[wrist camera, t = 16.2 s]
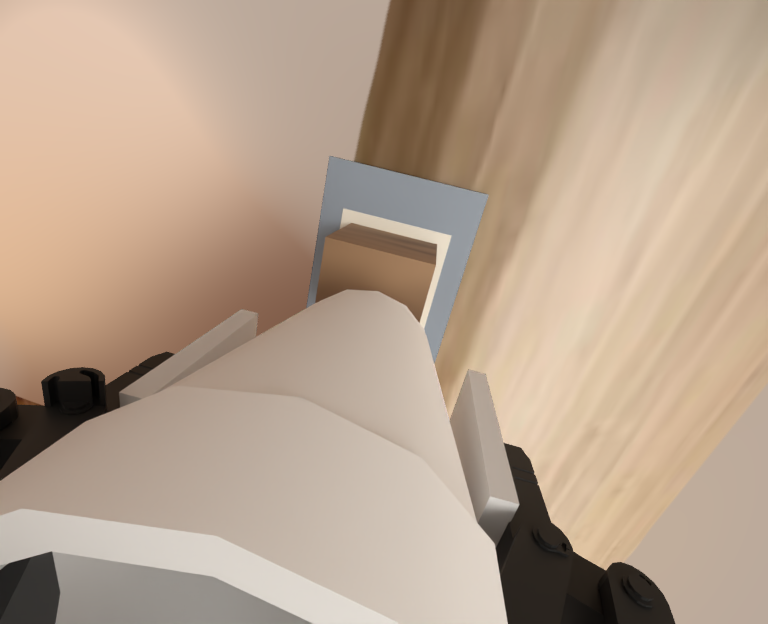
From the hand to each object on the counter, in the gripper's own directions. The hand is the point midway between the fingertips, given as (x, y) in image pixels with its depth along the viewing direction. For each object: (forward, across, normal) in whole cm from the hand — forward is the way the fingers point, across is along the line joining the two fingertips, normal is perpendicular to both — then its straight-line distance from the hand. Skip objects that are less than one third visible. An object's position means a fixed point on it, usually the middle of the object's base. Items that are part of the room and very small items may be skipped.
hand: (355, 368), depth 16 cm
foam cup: (+2, 0, 0) cm, 2 cm away
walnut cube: (+19, -1, -1) cm, 19 cm away
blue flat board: (+20, -1, -1) cm, 20 cm away
